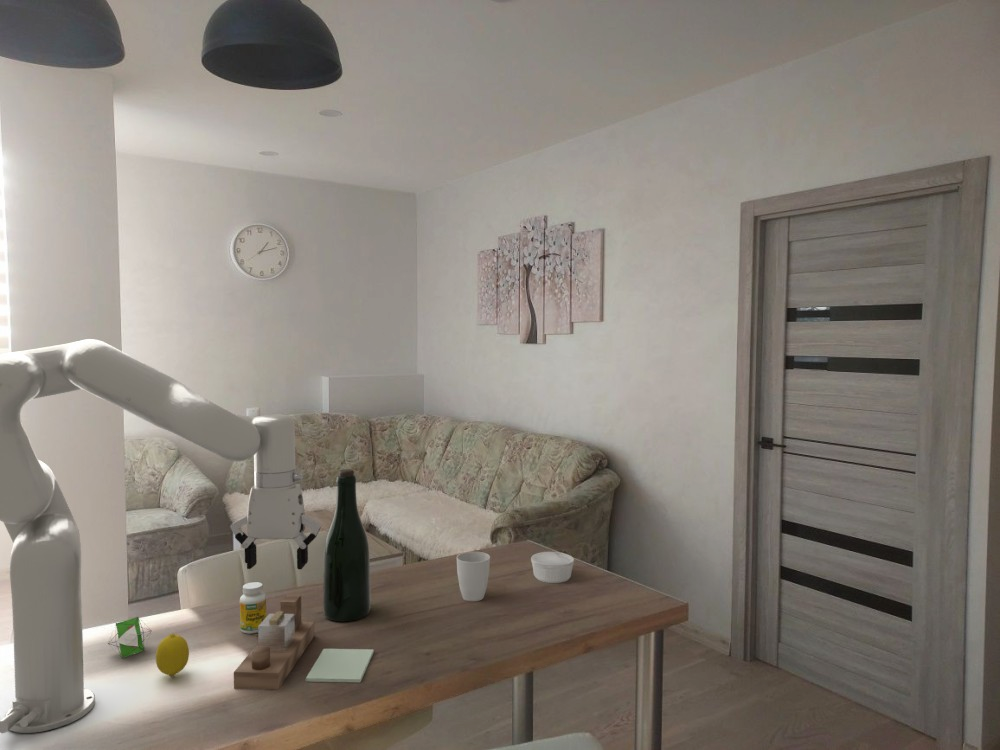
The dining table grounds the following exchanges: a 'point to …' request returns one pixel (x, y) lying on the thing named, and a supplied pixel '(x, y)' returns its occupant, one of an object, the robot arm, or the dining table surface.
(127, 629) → the geometric puzzle
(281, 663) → the tan board with knob
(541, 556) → the ramekin
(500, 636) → the dining table surface
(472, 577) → the cup
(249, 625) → the supplement bottle
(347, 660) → the mat
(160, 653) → the lemon
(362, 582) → the dark green wine bottle
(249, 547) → the robot arm
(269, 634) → the white block
